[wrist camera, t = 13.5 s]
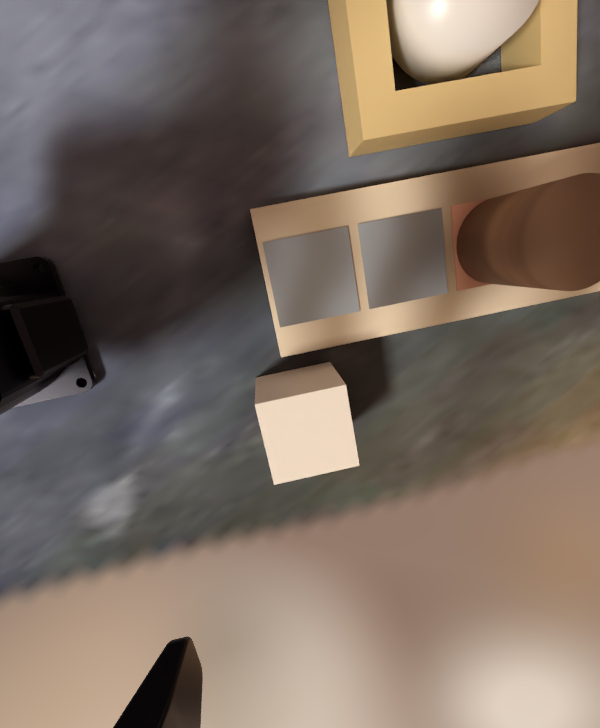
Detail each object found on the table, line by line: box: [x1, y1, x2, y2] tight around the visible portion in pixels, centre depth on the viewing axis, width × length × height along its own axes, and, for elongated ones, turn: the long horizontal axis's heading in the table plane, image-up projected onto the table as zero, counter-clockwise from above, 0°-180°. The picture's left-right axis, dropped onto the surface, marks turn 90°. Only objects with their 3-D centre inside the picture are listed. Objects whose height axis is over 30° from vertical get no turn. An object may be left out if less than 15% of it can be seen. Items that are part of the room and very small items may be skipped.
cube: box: [255, 362, 359, 485], centre depth 19 cm, size 4×4×4 cm
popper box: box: [328, 0, 577, 157], centre depth 15 cm, size 9×9×2 cm
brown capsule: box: [456, 173, 600, 291], centre depth 16 cm, size 4×4×5 cm
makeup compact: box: [250, 143, 600, 357], centre depth 19 cm, size 18×7×1 cm, turn 101°
